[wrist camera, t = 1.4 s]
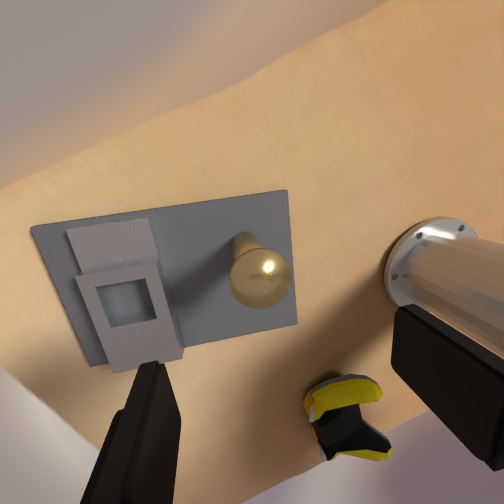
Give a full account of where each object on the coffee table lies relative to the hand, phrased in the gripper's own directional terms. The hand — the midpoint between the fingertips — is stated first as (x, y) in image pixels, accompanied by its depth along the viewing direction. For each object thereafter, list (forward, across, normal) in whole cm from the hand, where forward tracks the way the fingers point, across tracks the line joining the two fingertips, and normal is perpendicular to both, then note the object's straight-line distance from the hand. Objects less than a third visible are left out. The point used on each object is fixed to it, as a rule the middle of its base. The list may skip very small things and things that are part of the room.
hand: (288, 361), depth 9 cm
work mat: (+18, +6, +3) cm, 19 cm away
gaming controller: (+18, -11, +27) cm, 34 cm away
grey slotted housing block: (+17, +11, +3) cm, 20 cm away
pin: (+17, -1, 0) cm, 17 cm away
